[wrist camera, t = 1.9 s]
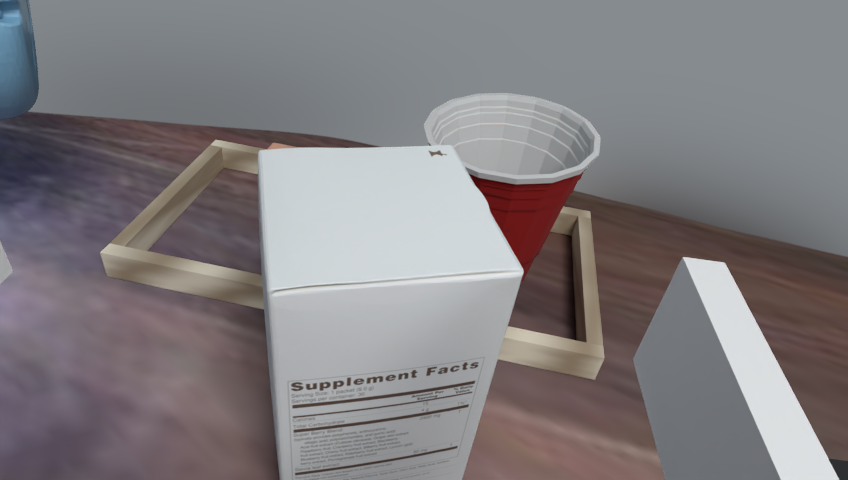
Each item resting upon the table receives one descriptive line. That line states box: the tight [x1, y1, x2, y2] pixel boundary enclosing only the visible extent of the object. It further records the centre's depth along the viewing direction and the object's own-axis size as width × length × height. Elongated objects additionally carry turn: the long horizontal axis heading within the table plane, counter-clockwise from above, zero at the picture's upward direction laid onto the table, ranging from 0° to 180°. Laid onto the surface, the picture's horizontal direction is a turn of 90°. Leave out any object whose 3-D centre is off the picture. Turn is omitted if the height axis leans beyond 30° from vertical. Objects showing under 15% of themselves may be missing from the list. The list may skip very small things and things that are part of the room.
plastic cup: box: [424, 93, 600, 283], centre depth 39 cm, size 11×11×12 cm
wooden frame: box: [100, 140, 604, 380], centre depth 42 cm, size 32×16×3 cm, turn 80°
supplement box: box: [258, 145, 524, 480], centre depth 26 cm, size 9×9×15 cm
